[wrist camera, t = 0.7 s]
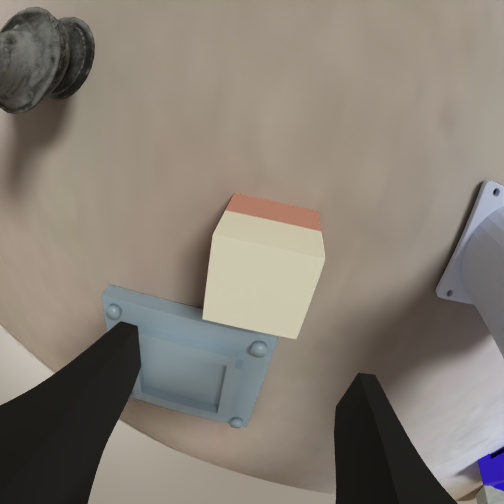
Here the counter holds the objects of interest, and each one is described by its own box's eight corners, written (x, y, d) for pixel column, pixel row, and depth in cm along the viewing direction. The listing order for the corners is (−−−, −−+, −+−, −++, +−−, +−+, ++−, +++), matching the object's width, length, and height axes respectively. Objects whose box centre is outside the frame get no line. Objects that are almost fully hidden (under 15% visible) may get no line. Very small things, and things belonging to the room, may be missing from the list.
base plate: (278, 326, 21) (277, 347, 19) (248, 416, 27) (245, 434, 25) (109, 284, 21) (96, 301, 19) (124, 383, 27) (116, 399, 25)
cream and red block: (318, 211, 17) (325, 258, 13) (297, 280, 19) (296, 339, 15) (234, 192, 17) (213, 234, 13) (222, 263, 19) (202, 319, 15)
